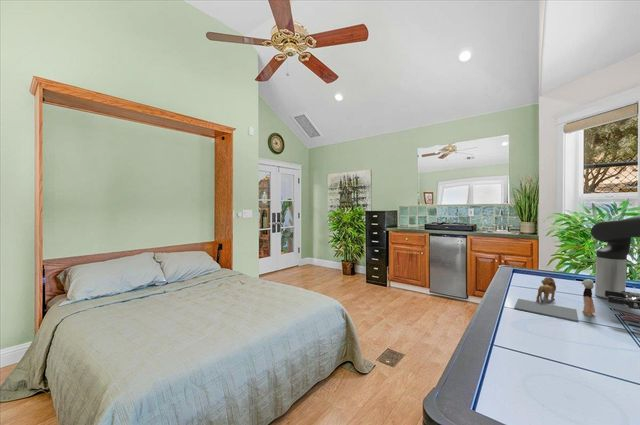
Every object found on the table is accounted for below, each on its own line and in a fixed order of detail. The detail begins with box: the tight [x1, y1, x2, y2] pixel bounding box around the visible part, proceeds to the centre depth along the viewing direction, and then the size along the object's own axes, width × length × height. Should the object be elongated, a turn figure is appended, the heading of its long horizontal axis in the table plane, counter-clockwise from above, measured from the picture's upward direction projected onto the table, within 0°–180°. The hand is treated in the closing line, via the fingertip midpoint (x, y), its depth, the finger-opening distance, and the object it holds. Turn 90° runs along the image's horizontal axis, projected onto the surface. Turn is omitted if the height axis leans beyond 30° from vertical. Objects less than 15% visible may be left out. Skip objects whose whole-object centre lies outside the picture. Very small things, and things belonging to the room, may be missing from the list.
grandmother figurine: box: [581, 278, 596, 317], centre depth 103 cm, size 8×4×13 cm, turn 148°
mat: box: [513, 298, 579, 323], centre depth 106 cm, size 14×18×1 cm
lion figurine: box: [535, 276, 557, 304], centre depth 117 cm, size 15×5×9 cm, turn 134°
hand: (606, 296), depth 100 cm, fingers open, 8 cm apart
